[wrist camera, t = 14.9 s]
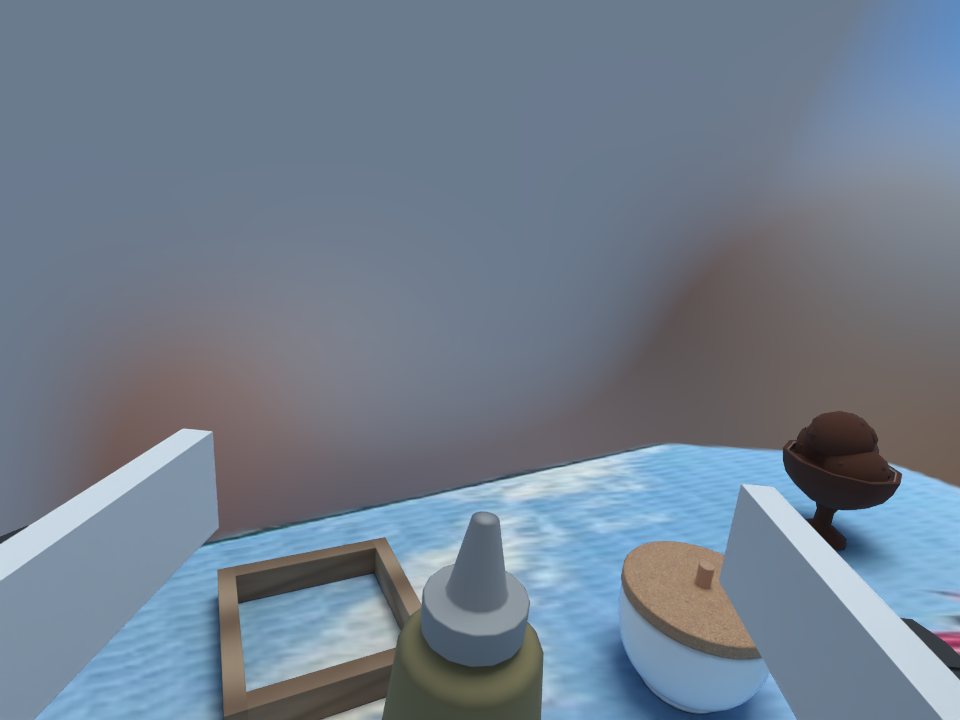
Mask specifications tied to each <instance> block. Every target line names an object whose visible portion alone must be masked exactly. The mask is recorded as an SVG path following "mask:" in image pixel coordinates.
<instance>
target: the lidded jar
mask: <svg viewBox="0 0 960 720" xmlns="http://www.w3.org/2000/svg"><path fill="white" fill-rule="evenodd" d="M724 556H725V555H722V554H720V553H718V552H715V551H712V550H710V549H707V548H703V547H700V546H696V545H692V544H687V543H681V542H671V541H661V542H652V543H647V544H644V545H641V546H639V547H637V548H635V549H634V550H632V551H631V552H630V553H629V554H628V555H627V557H626V559H625V560H624V564H623V569H622V574H621V580H622V583H621V588H620V595H619V605H618V616H619V630H620V634H621V638H622V642H623V646H624V648H625V651H626V653H627V655H628V657H629V659H630V661H631V663H632V665H633V666H634V668H635V669H636V671H637V672H638V673H639V674H640V676H641V678H642V679H643V681H644V683H645V684H646V685H647V687H648V688H649V689H650V690H651V691H652V692H653V693H654V694H655V695H656V696H657V697H659V698H660V699H661V700H663V701H664V702H666V703H667V704H669V705H671V706H673V707H675V708H677V709H680V710H682V711H685V712H689V713H695V714H706V713H711V712H714V711H723V710H729V709H731V708H734V707H736V706H739V705H741V704H743V703H745V702H746V701H747V700H749V699H750V698H751V697H753V696H754V695H755V694H756V693H757V692H758V691H759V689H760V688H761V687H762V685H763V684H764V682H765V681H766V680H767V678H768V677H769V675H770V671H769V669H768V667H767V665H766V664H765V662H764V660H763V658H762V657H761V655H760V653H759V651H758V650H757V648H756V646H755V644H754V642H753V641H752V639H751V637H750V635H749V634H748V632H747V630H746V628H745V626H744V625H743V623H742V621H741V619H740V618H739V616H738V614H737V612H736V610H735V609H734V607H733V605H732V603H731V602H730V600H729V598H728V596H727V595H726V593H725V591H724V589H723V587H722V586H721V584H720V582H719V577H720V573H721V568H722V564H723V560H724Z"/></svg>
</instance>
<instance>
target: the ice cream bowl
mask: <svg viewBox="0 0 960 720" xmlns="http://www.w3.org/2000/svg"><path fill="white" fill-rule="evenodd" d="M877 441H878V438H877V435H876V433H875V431H874V429H872V428H871V427H870V426H869V425H868V424H867V423H866V421H865V420H864V419H862V418H860V417H858V416H857V415H855V414H852V413H847V412H841V411H837V412H831V413H824V414H821V415H819V416H818V417H816V418H814V419H813V421H812V423H811V424H810V425H809V427H807V428H806V427H805V428H804V429H802V430H801V432H800V433H799V435H798V437H797V440H790V441H789V442H788V443H787V444H786V445H785V446H784V448H783V462H784V466H785V470H786V472H787V474H788V475H789V476H790V478H791V479H792V481H793V482H794V483H795V484H796V485H797V486H798V487H799V488H800V489H801V490H802V491H803V492H804V493H805V494H806V495H807V496H808V497H809V498H810V499H811V500H813V501H815V502H816V506H817V509H816V512H815V515H814V518H813V519H805V520H806V521H807V522H808V523H809V524H810V525H811V526H812V527H813V528H814V529H815V531H816V532H817V533H818V534H819V535H820V536H821V537H822V538H823V539H824V540H825V541H826V542H827V543H828V544H829V545H830V546H831V547H832V548H833V549H834V550H844V549H845V546H846V538H845V537H844V536H843V535H842V534H841V533H840V532H839V531H837V530H836V529H835V528H834V527H833V526H832V525H831V523H832V519H833V515H834V513H835V512H836V511H837V510H857V509H866V508H870V507H873V506H876V505H880V504H883V503H884V502H885V501H887V500H888V499H889V498H890V497H891V496H893V494H894V493H895V491H896V490H897V488H898V487H899V485H900V483H901V477H902V473H900V472H899V471H897V470H895V469H894V468H892V467H891V466H889V465H888V463H887V461H885V460H884V459H883V458H882V457H881V456H880V455H879V450H878V446H877Z"/></svg>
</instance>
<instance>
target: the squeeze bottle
mask: <svg viewBox="0 0 960 720" xmlns="http://www.w3.org/2000/svg"><path fill="white" fill-rule="evenodd" d="M529 606H530V601H529V598H528V595H527V592H526V589H525V587H524V586H523V585H522V584H521V583H520V582H519V581H518V580H517V579H516V578H515V577H514V576H513V575H512V574H510V573H508V572H507V571H505V566H504V557H503V548H502V539H501V530H500V521H499V518H498V517H497V516H496V515H494V514H492V513H489V512H477V513H475V514H473V515H472V518H471V520H470V523H469V526H468V529H467V531H466V534H465V537H464V540H463V543H462V545H461V548H460V551H459V554H458V557H457V559H456V562H455V564H452V565H449V566H446V567H443V568H442V569H440V570H439V571H438V572H436V573H435V574H433V575H432V576H431V577H430V578H429V579H428V581H427V583H426V585H425V587H424V589H423V595H422V607H421V608H420V609H418V610H417V611H416V612H414V613H413V614H412V615H411V616H409V617H408V619H407V621H406V623H405V625H404V627H403V629H402V630H401V632H400V634H399V636H398V640H397V646H396V651H395V656H394V661H393V666H392V671H391V676H390V681H389V687H388V692H387V697H386V702H385V707H384V712H383V717H382V720H541V703H542V678H543V650H542V647H541V645H540V642H539V639H538V636H537V633H536V631H535V630H534V629H533V628H532V626H531V625H530V624H529V623H528V622H527V620H528V613H529Z"/></svg>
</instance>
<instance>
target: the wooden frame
mask: <svg viewBox="0 0 960 720" xmlns="http://www.w3.org/2000/svg"><path fill="white" fill-rule="evenodd" d="M217 571H218V601H219V623H220V646H221V668H222V690H223V713H224V720H319V719H322V718H325V717H328V716H331V715H334V714H337V713H340V712H343V711H346V710H349V709H352V708H354V707H357V706H360V705H363V704H366V703H369V702H372V701H375V700H378V699H381V698H384V697H387V692H388V687H389V681H390V676H391V671H392V666H393V661H394V656H395V651H396V648H393V649H390V650H386V651H383V652H380V653H376V654H373V655H370V656H366V657H363V658H360V659H356V660H353V661H349V662H346V663H343V664H339V665H336V666H333V667H329V668H326V669H323V670H319V671H316V672H313V673H309V674H306V675H303V676H299V677H296V678H292V679H289V680H286V681H282V682H279V683H276V684H272V685H269V686H266V687H262V688H259V689H256V690H252V691H249V692H246V685H245V674H244V663H243V653H242V642H241V631H240V620H239V609H238V603H241V602H245V601H250V600H254V599H259V598H263V597H268V596H272V595H276V594H281V593H285V592H290V591H294V590H299V589H303V588H308V587H312V586H317V585H321V584H326V583H330V582H334V581H339V580H343V579H348V578H352V577H357V576H361V575H366V574H370V573H375V575H376V577H377V579H378V581H379V584H380V586H381V588H382V590H383V592H384V594H385V597H386V599H387V601H388V603H389V605H390V607H391V610H392V612H393V614H394V616H395V618H396V620H397V623H398V625H399V627H400V629H401V630H402V629H403V627H404V625H405V623H406V621H407V619H408V617H409V616H411V615H412V614H413V613H414V612H416V611H417V610H418V609H420V608H421V607H422V605H421V603H420V601H419V599H418V597H417V596H416V594H415V592H414V590H413V588H412V586H411V584H410V583H409V581H408V579H407V577H406V575H405V573H404V571H403V570H402V568H401V566H400V564H399V562H398V560H397V558H396V557H395V555H394V553H393V551H392V549H391V547H390V545H389V544H388V542H387V540H386V538H385V537H384V538H379V539H374V540H369V541H364V542H358V543H353V544H348V545H343V546H338V547H333V548H327V549H322V550H317V551H312V552H307V553H302V554H296V555H291V556H286V557H281V558H276V559H271V560H266V561H260V562H255V563H250V564H245V565H240V566H235V567H229V568H224V569H219V570H217Z"/></svg>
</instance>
